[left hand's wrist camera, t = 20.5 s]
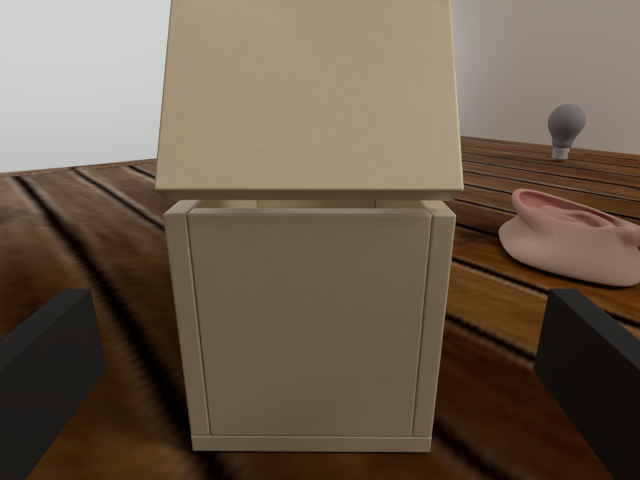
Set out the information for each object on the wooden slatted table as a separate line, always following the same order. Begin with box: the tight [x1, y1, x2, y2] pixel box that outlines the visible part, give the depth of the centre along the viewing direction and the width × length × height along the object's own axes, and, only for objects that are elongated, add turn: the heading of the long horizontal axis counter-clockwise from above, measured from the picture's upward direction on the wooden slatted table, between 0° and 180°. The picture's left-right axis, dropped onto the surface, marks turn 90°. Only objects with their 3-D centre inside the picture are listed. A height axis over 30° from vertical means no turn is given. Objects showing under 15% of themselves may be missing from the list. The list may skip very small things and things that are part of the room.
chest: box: [163, 200, 456, 452], centre depth 23 cm, size 16×10×10 cm, turn 0°
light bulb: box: [548, 104, 586, 161], centre depth 79 cm, size 6×6×10 cm
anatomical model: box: [499, 189, 640, 287], centre depth 37 cm, size 13×4×12 cm
